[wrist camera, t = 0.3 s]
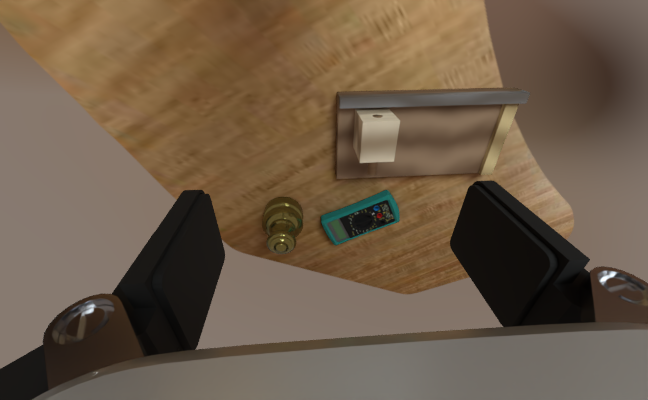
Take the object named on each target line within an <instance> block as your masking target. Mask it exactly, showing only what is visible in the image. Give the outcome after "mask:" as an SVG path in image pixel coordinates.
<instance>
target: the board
mask: <svg viewBox="0 0 648 400" xmlns="http://www.w3.org/2000/svg"><path fill="white" fill-rule="evenodd" d="M529 95H530V93H529V92H526V91H524V90H521V89H518V88H515V87H513V88H473V89H433V90H394V91H354V92H337V132H336V177H337V179H350V178H373V177H395V176H418V175H441V174H464V173H479V174H480V175H492V172H493V170H494V167H495V165H496V162H497V159H498V157H499V154H500V152H501V149H502V147H503V144H504V141H505V139H506V136H507V134H508V131H509V129H510V126H511V123H512V121H513V118H514V116H515V113H516V111H517V108H518V105H519V104H520V103H526V102H527V100H528V97H529ZM362 108H389V109H390V110H391V111H392V112H393V114H394V115H395V116H396V117H397V118H398V119H399V120H400V125H399V132H398V138H397V145H396V151H395V158H394V162H377V171H376V175H368V174H367V170H368V165H367V164H368V163H360V162H359V160H358V157H357V155H356V152H355V150H354V147H353V138H354V121H355V109H362Z"/></svg>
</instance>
